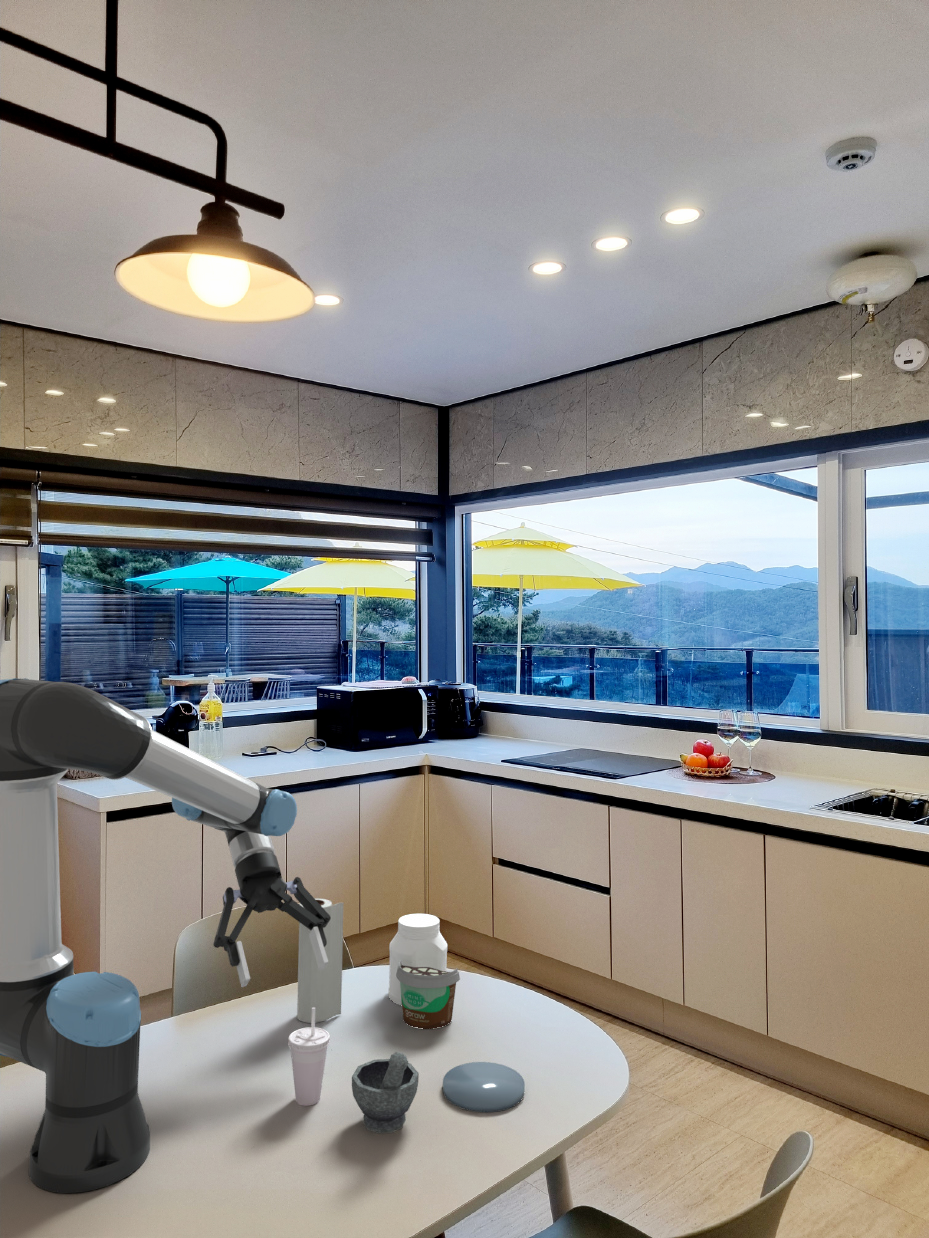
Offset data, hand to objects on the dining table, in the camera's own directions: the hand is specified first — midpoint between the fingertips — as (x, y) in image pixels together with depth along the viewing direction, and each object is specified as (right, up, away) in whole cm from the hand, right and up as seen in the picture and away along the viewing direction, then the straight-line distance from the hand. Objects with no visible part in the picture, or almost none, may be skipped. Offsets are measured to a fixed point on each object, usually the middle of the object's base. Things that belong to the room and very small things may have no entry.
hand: (285, 974), depth 144 cm
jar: (+20, -17, +30) cm, 40 cm away
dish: (+32, -16, -5) cm, 37 cm away
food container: (+22, -16, +17) cm, 32 cm away
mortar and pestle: (+18, -16, -15) cm, 28 cm away
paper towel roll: (+2, -16, +19) cm, 25 cm away
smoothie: (+5, -16, -9) cm, 19 cm away
